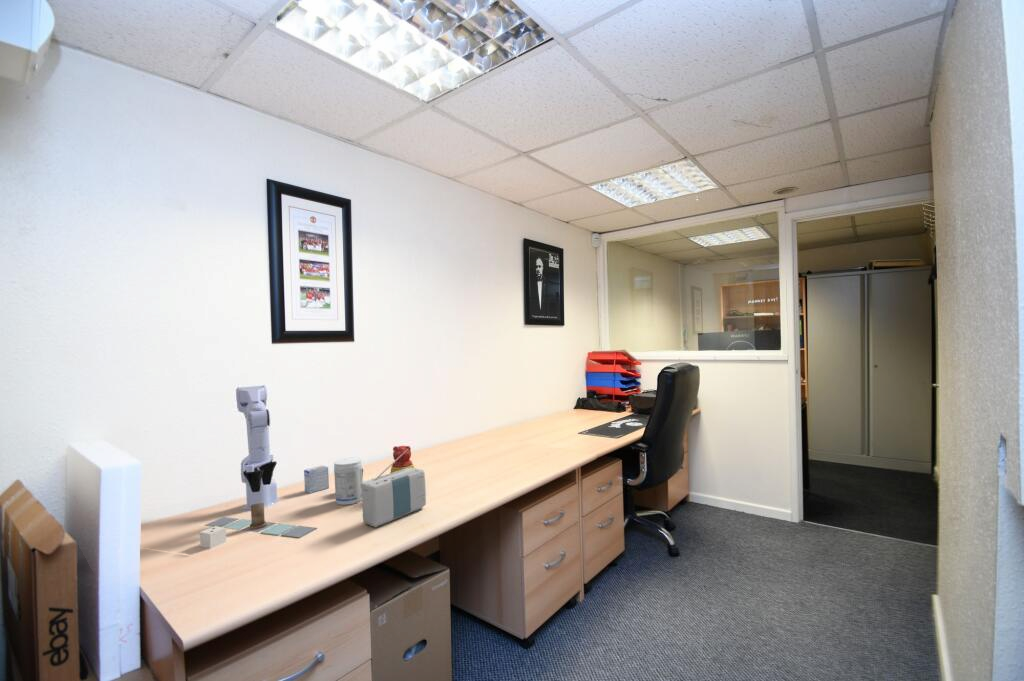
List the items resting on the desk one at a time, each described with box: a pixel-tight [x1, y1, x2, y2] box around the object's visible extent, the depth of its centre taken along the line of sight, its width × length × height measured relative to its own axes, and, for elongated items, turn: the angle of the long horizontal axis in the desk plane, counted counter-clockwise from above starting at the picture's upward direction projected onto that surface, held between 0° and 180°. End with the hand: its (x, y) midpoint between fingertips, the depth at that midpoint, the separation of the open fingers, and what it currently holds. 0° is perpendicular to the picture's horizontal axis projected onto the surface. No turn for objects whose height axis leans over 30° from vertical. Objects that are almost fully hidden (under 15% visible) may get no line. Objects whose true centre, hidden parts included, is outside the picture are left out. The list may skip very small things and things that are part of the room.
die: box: [199, 526, 227, 550], centre depth 133 cm, size 4×4×4 cm
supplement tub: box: [333, 456, 364, 506], centre depth 167 cm, size 10×10×15 cm
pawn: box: [249, 503, 268, 530], centre depth 145 cm, size 5×5×7 cm
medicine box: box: [303, 464, 330, 494], centre depth 181 cm, size 8×4×9 cm, turn 141°
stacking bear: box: [389, 445, 415, 474], centre depth 173 cm, size 11×10×18 cm
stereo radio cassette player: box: [361, 449, 427, 528], centre depth 150 cm, size 21×8×20 cm, turn 143°
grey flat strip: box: [204, 516, 318, 539], centre depth 145 cm, size 7×39×1 cm, turn 71°
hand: (261, 488), depth 152 cm, fingers open, 7 cm apart
